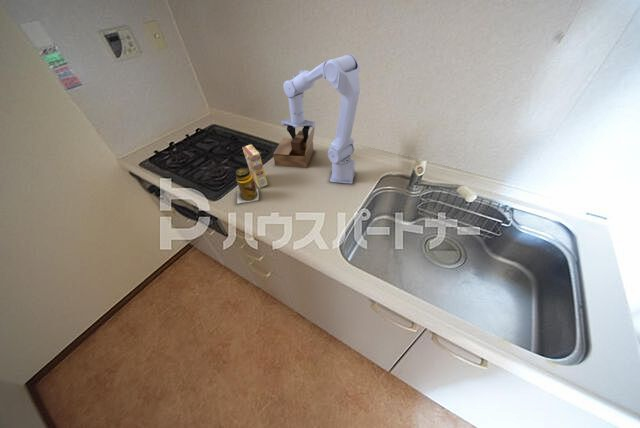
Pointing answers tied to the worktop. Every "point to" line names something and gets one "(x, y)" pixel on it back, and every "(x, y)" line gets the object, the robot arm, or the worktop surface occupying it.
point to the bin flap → (309, 141)
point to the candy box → (255, 165)
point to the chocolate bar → (298, 142)
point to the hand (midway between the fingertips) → (300, 141)
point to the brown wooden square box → (291, 155)
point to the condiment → (246, 186)
